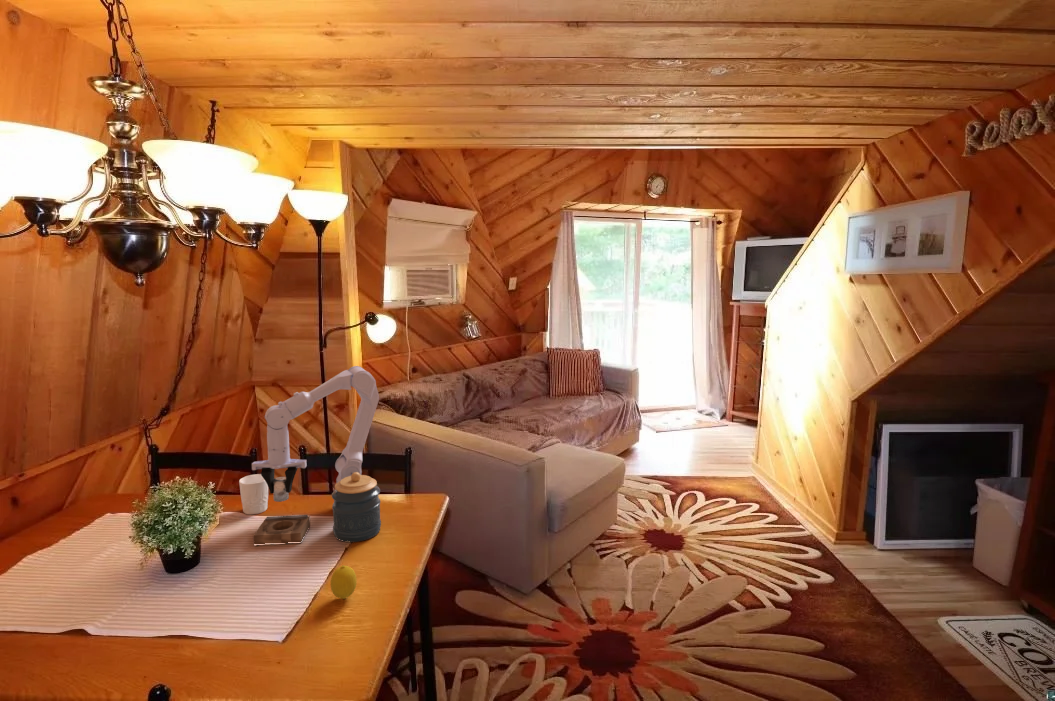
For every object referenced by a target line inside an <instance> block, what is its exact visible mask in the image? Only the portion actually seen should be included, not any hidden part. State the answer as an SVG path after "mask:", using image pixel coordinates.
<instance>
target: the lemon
mask: <svg viewBox="0 0 1055 701" xmlns="http://www.w3.org/2000/svg"><path fill="white" fill-rule="evenodd" d="M356 588H357V575H356V572H355V570H354V568H352V567H351V566H348V565H344V564H342V565H341V566H339V567H336V569H334V571H333V573H332V574H331V578H330V589H331V590H330V591H331V592H332V595H334V596H335V597H336V598H339V599H342V600H346V598H349V597H350V596H351V595H353V593H354V592H355V590H356Z"/></svg>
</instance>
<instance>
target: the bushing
mask: <svg viewBox="0 0 1055 701" xmlns="http://www.w3.org/2000/svg"><path fill="white" fill-rule="evenodd" d="M272 494H273V501H274V502H278V503H279V502H285V501H287V500H289V493H287V481H286V476H279V477H274V479H273V493H272Z"/></svg>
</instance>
